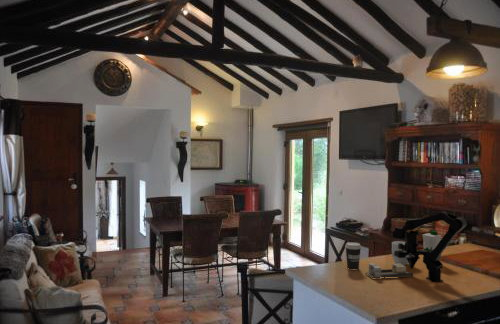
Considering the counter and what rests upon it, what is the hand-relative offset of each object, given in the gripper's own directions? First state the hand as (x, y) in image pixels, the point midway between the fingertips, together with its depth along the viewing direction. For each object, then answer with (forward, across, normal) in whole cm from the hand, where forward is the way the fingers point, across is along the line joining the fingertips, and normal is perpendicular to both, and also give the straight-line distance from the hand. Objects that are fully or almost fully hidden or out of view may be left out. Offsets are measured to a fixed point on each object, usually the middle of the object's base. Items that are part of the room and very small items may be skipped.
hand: (411, 268), depth 225 cm
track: (+4, +14, 0) cm, 14 cm away
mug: (+4, -5, -20) cm, 21 cm away
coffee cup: (+4, +29, -16) cm, 33 cm away
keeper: (+2, +8, 0) cm, 8 cm away
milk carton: (+4, -24, -20) cm, 32 cm away
